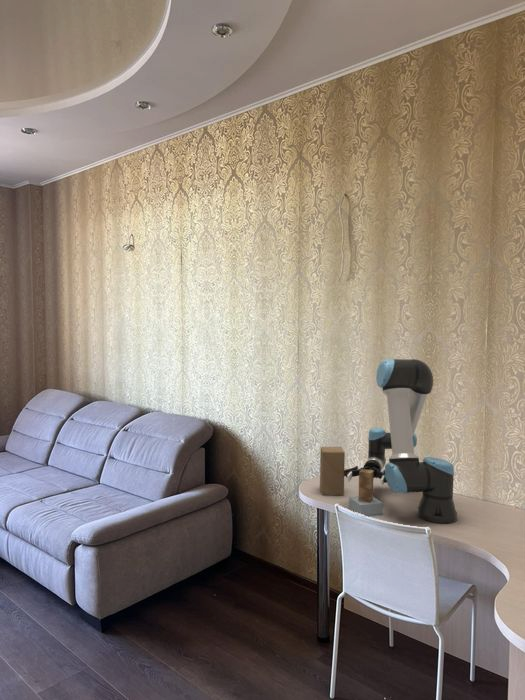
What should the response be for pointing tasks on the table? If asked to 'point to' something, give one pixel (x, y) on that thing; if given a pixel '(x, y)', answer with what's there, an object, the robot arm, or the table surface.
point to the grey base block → (366, 506)
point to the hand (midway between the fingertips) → (364, 481)
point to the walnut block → (365, 485)
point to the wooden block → (332, 470)
